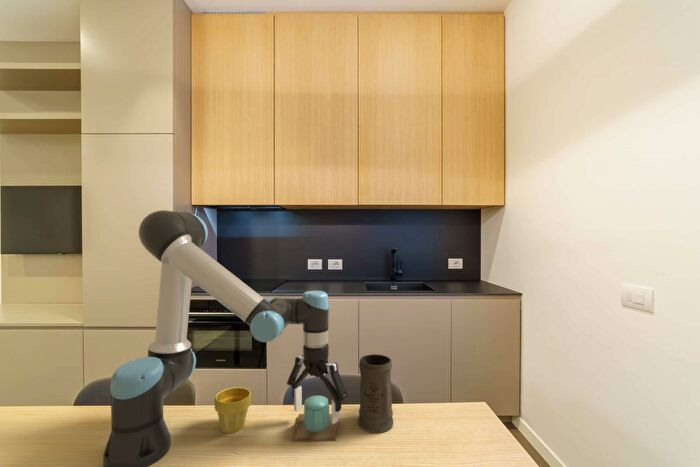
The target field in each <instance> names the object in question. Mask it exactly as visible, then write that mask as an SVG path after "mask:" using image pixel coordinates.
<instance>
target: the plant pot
mask: <svg viewBox="0 0 700 467" xmlns="http://www.w3.org/2000/svg"><path fill="white" fill-rule="evenodd" d="M251 400H252V392H251V390H250V389H249V388H246V387H244V386H235V387H228V388H225V389H222V390H221V391H218V392H217V393H216V394H215V396H214V410H215V412H217V417H218V421H219V422H218V423H219V425H220V430H221V432H224V433H225V434H233V433H234V434H235V433H237V432H239V431H241V430H242V429H243V428H244V427H245V422H246V418H247V413H248V409H249V407H250V406H251V403H252V401H251Z"/></svg>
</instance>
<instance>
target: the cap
mask: <svg viewBox="0 0 700 467" xmlns="http://www.w3.org/2000/svg"><path fill="white" fill-rule="evenodd" d="M303 414H304V426H305V429H306V430H309V431H311V432H318V431H323V430H325V429H326V428H327V427H328V426H329V414H330V404H329V399H328V398H327V397H326V396H323V395H311V396H309V397H306V399H305V400H304V403H303Z"/></svg>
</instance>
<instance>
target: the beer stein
mask: <svg viewBox="0 0 700 467" xmlns="http://www.w3.org/2000/svg"><path fill="white" fill-rule="evenodd" d="M358 365H359V366H358V367H359V374H360V384H359V385H360V386H359V393H360V396H359V397H360V398H359V399H360V400H359V401H360V402H359V403H360V404H359V410H358V414H359V415H358V418H357V419H358V421H357V422H358V426H359V427H360V428H361V429H362V430H364V431H366V432H368V433H373V434H374V433H377V434H379V433H386V432H388V431H390V430H391V429H392V428H393V426H394V418H393V414H394V411H393V404H392V376H391V375H392V368H393V364H392V359H391V358H390V357H389V356H386V355H383V354H378V353H377V354H373V353H372V354H368V355H367V354H366V355H363V356H361V357H360V359H359V364H358Z"/></svg>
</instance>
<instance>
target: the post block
mask: <svg viewBox="0 0 700 467" xmlns="http://www.w3.org/2000/svg"><path fill="white" fill-rule="evenodd" d="M337 422H338V421H337ZM337 422H336V423H335V424H332V413H329V426H328V427H327V428H326V429H325V430H323V431H318V432H311V431H309V430H306V429H305V426H304V413H298V416H297V419H296V424H295V428H294V431H293V435H292V441H293V442H300V441H301V442H304V441H305V442H307V441H308V442H311V441H313V442H317V441H319V442H321V441H324V442H326V441H330V442H333V441H334V442H335V441H336V438H337V425H338V423H337Z"/></svg>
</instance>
